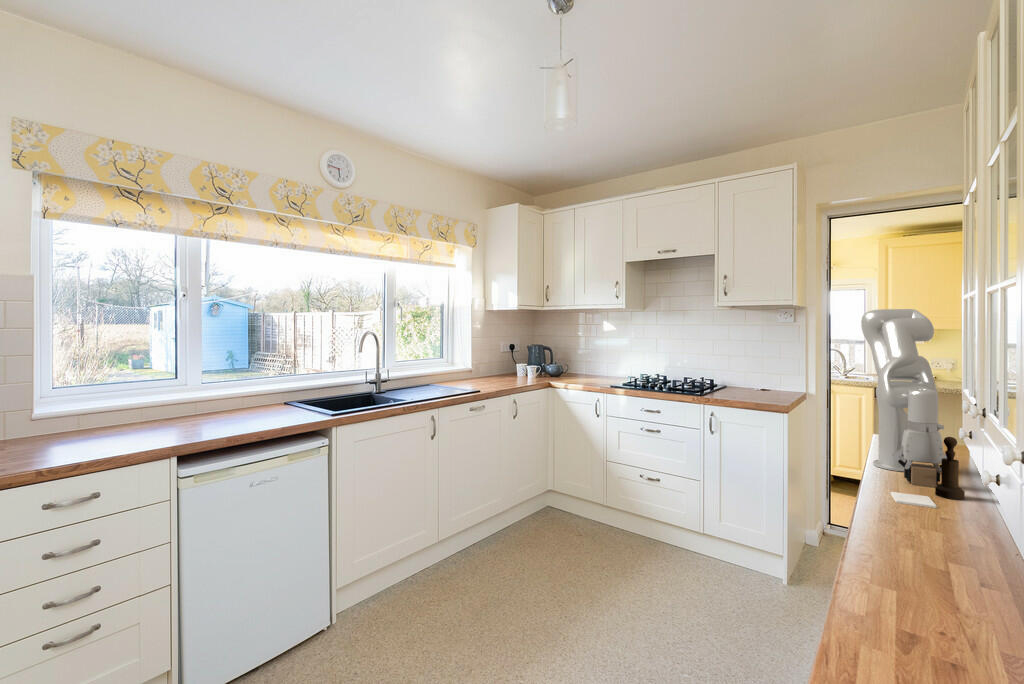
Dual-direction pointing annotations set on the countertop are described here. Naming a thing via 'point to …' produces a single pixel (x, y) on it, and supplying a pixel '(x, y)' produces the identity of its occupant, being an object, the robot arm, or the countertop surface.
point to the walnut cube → (923, 475)
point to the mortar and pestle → (950, 474)
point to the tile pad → (913, 499)
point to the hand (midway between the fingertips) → (921, 481)
